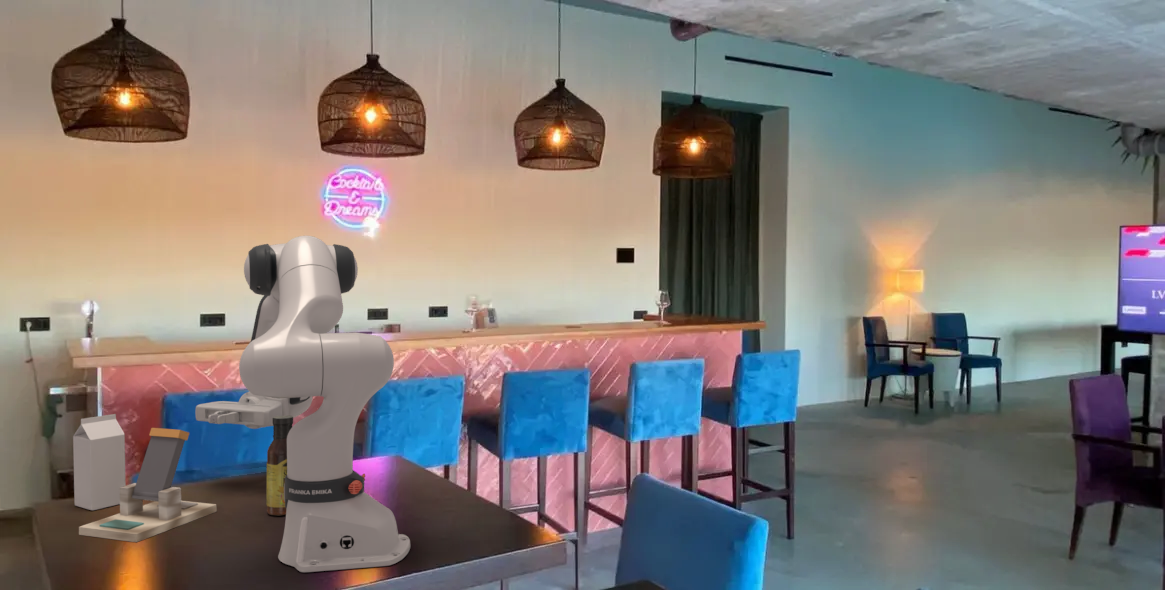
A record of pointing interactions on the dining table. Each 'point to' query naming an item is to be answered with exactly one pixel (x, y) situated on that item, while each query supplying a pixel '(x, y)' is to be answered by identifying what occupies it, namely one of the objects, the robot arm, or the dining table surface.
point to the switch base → (147, 516)
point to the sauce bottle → (277, 465)
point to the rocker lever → (159, 463)
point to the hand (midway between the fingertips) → (213, 419)
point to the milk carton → (98, 462)
